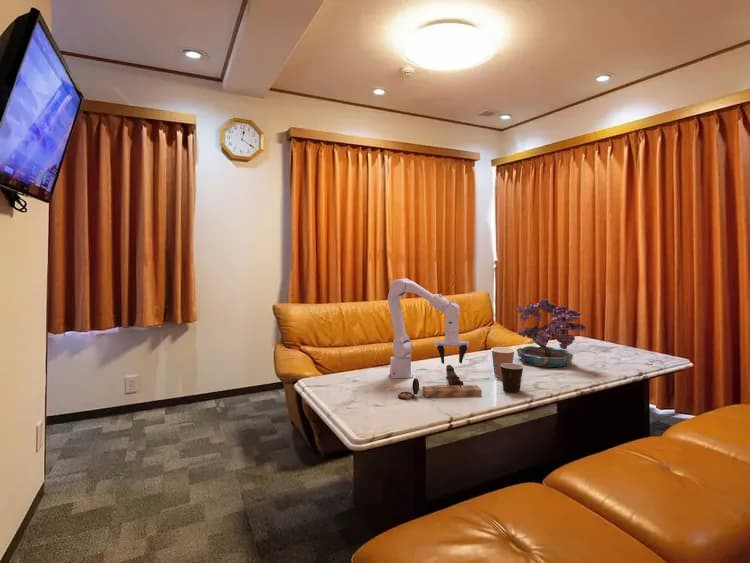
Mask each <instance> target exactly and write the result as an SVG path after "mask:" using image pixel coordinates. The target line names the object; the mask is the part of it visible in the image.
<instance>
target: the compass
mask: <svg viewBox="0 0 750 563" xmlns="http://www.w3.org/2000/svg"><path fill="white" fill-rule="evenodd" d="M419 391H420V381H419V379H418V378H417V377H415V378H414V377H413V381H412V392H410V391H402V392H401V391H400V392H399V393H398V394H397V397H398V398H399V399H401V400H405V401H406V400H407V401H410V400H412V399H414V398H415V395H418V394H419Z"/></svg>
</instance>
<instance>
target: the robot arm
mask: <svg viewBox="0 0 750 563" xmlns="http://www.w3.org/2000/svg"><path fill="white" fill-rule="evenodd" d="M407 293H414V294H416V295H417V296H420V297H421V298H423V299H425V300H426V301H428V302H429V305H430V306H432V307H433V308H435V309H437V310H438V311H439V312H442V313H443V314H444V316H445V322H444V323H445V325H444V331H445V332H444V334H445V335H444V337H445V338H444V340H440V341H434V347H435V348H437V351H438V353H439V357H440V361H441V362H440V363H441V364H442V365H444V364H445V350H446V349H445V348H444V347H458V353H459V354H458V357H459V358H458V362H459V363H458V364H463V359H464V357H465V354H466V352H467V350H468V347H470V341H469V340H459V338H460V333H459V332H460V319H459V318H460V315H459V314H460V313H461V307H460V305H459V304H458V303H457V302H453V301H452V300H450V299H446V298H445V297H443V294H442V293H439V294H438V293H435V294H433V293H432V292H431V291H428V290H427V289H425V288H424V287H422V286H421V285H419V284H417V282H415V281H413V280H411V279H409V278H406V277H405V278H401V279H400V278H399V279H397V278H396V279H394V280H393V281H392V282H391V283H390V285H389V292H388V295H387V303H388V309H389V313H390V319H391V323H392V328H393V335H394V338H393V341H392V344H393V346H392V353H393V355H394V356H390V363H389V364H390V365H389V367H390V368H389V374H390V376H391V379H407V378H410V379H412V378H413V379H414V377H413V374H412V354H411V353H412V351H413V350H414V348H413V347H414V346H413V343H412V342H411V340H410V337H409V335H408V334H407V329H406V325H405V320H404V315H403V309H402V304H401V299H403V297H404V295H405V294H407Z"/></svg>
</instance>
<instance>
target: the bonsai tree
mask: <svg viewBox="0 0 750 563" xmlns="http://www.w3.org/2000/svg"><path fill="white" fill-rule="evenodd" d="M540 310H541V311H543V312H544V314H551V315H552V316H553V317H551V320H549V321H550V322H549V323H547V324H545V325H543V326H539V325H537V324H534V325H532V327H524V328H522V329H521V330H517V332H516V333H517V335H518V336H522V338H525V337H526V338H527V339H530V340H531V339H532V342H534V343H535V344H536V345H538V346H533V345H529V346H528V345H527V346H525V347H523V348H521V347H518V348H517V349H516V352H517V356H518V357H519V358H520V360H522V362H524V363H525V364H528V365H532V366H536V367H544V368H545V367H546V368H560V367H565V366H566V365H567V364H568V363H570V362H572V360H573V357H574V354H572V353H571V352H569V350H567V348H568V346H569V347H570V345H572V344H573V343H574V341H575V340H576V337H575V336H574V334H569V333H568V332H567V331H580V332H581V333H582V332H583V331H585V330H586V325H585V324H584V323H573V322H574V321H575V322H577V320H578V319H579V317H580V315H582V312H581V311H577V310H576V309H569V310H567V307H566V306H565V305H560V306H557V307H556V304H555V303H553V302H550V301H549V299H548V298H542V299H539V302H537V303H534V304H533V303H532V302H531V303H529V304H526V305H525V306H523V307H522V306H517V307H515V311H516V312H518V313H519V314H521V313H522V314H521V315H520V316H519V318H520V319H519V320H520V321H523V322H526V321H527V320H529V319H530V318H532V317H534V318H535V320H536V321H537V322H538V323H540V321H541V320H542V315H541V314H542V313H541V312H540ZM551 338H555V339H556V342H558V343H559V344H558V346H559V348H554V347H551V346H547V345H548V343H549V340H552V339H551Z"/></svg>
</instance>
